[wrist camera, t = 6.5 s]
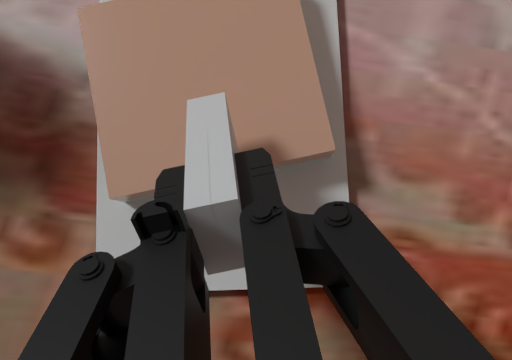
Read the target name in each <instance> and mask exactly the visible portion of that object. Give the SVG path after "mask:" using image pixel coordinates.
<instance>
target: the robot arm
mask: <svg viewBox="0 0 512 360" xmlns="http://www.w3.org/2000/svg"><path fill="white" fill-rule="evenodd" d="M130 220H131V222H132V224H133V226H134V228H135V230H136V232H137V235H138V237H139V239H140V245H139V246H138V247H136V248H135V249H133V250H131V251H130V252H128V253H125V254H123V255H121V256H119V257H117V258H115V259H114V257H113V256H112V255H111V254H109V253H108V252H101V251H100V252H94V253H91V254H88V255H86V256H84V257H82V258H81V259H80V260H78V261H77V262H76V263H75V264H74V265H73V266H72V267H71V269H70V270H69V271H68V273H67V275H66V277H65V278H64V280H63V282H62V284H61V285H60V287H59V289H58V291H57V292H56V294H55V296H54V298H53V299H52V301H51V303H50V304H49V306H48V308H47V310H46V311H45V313H44V315H43V317H42V318H41V320H40V322H39V324H38V325H37V327H36V329H35V331H34V332H33V334H32V336H31V338H30V339H29V341H28V343H27V345H26V346H25V348H24V350H23V352H22V353H21V355H20V357H19V359H18V360H211V346H210V316H209V289H208V286H207V283H206V280H205V278H204V266H205V269H206V272H207V274H208V275H211V274H216V273H221V272H225V271H230V270H235V269H240V268H245V272H246V281H247V290H248V298H249V307H250V315H251V324H252V332H253V341H254V350H255V358H256V360H322V356H321V352H320V348H319V344H318V340H317V336H316V332H315V328H314V323H313V319H312V315H311V311H310V307H309V303H308V299H307V295H306V291H305V287H304V284H314V285H322V286H323V289H324V290H325V292H326V294H327V295H328V297H329V298H330V300H331V301H332V303H333V305H334V306H335V308H336V309H337V311H338V313H339V314H340V316H341V317H342V319H343V320H344V322H345V324H346V325H347V327H348V328H349V330H350V332H351V333H352V335H353V336H354V338H355V340H356V341H357V343H358V344H359V346H360V347H361V349H362V351H363V352H364V354H365V355H366V357H367V359H368V360H495V359H494V358H493V357H492V356H491V355H490V353H489V352H488V351H487V350H486V349H485V348H484V347H483V346H482V345H481V343H480V342H479V341H478V340H477V339H476V338H475V337H474V336H473V335H472V333H471V332H470V331H469V330H468V329H467V328H466V327H465V326H464V324H463V323H462V322H461V321H460V320H459V319H458V318H457V317H456V316H455V314H454V313H453V312H452V311H451V310H450V309H449V308H448V307H447V306H446V304H445V303H444V302H443V301H442V300H441V299H440V298H439V297H438V296H437V294H436V293H435V292H434V291H433V290H432V289H431V288H430V287H429V285H428V284H427V283H426V282H425V281H424V280H423V279H422V278H421V277H420V275H419V274H418V273H417V272H416V271H415V270H414V269H413V268H412V267H411V265H410V264H409V263H408V262H407V261H406V260H405V259H404V258H403V256H402V255H401V254H400V253H399V252H398V251H397V250H396V249H395V248H394V246H393V245H392V244H391V243H390V242H389V241H388V240H387V239H386V238H385V236H384V235H383V234H382V233H381V232H380V231H379V230H378V229H377V228H376V226H375V225H374V224H373V223H372V222H371V221H370V220H369V219H368V217H367V216H366V215H365V214H364V213H363V212H362V211H361V210H360V209H359V208H358V207H357V206H355V205H354V204H352V203H348V202H345V201H334V202H329V203H326V204H324V205H322V206H321V207H319V208H318V209H317V211H316V212H315V213H314V214H301V213H296V212H293V211H291V210H290V209H288V208H287V207H286V206H285V205H284V204H283V202H282V199H281V195H280V191H279V187H278V183H277V179H276V175H275V171H274V167H273V163H272V159H271V155H270V154H269V153H268V152H267V151H266V150H265V149H264V148H258V149H253V150H248V151H244V152H239V150H238V145H237V141H236V137H235V133H234V129H233V125H232V121H231V116H230V112H229V108H228V104H227V100H226V96H225V92H223V93H218V94H213V95H209V96H204V97H199V98H194V99H190V100H187V116H186V147H185V165H182V166H177V167H172V168H168V169H163V170H162V172H161V173H160V175H159V176H158V178H157V179H156V184H155V192H154V200H152V201H150V202H147V203H145V204H143V205H142V206H140V207H139V208H138V209H137V210H136V211H135V212H134V213H133V215H132V217H131V219H130Z"/></svg>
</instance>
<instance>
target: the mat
mask: <svg viewBox="0 0 512 360" xmlns="http://www.w3.org/2000/svg"><path fill="white" fill-rule="evenodd" d="M107 1H112V0H99V3H103V2H107ZM300 4H301V8H302V12H303V16H304V20H305V24H306V29H307V33H308V37H309V41H310V45H311V49H312V53H313V58H314V62H315V66H316V70H317V74H318V78H319V82H320V87H321V91H322V95H323V99H324V103H325V107H326V111H327V116H328V120H329V124H330V128H331V132H332V136H333V140H334V145H335V149H336V150H335V152H334V153H333V154H332V156H331V157H330V158H328V159H323V160H319V161H314V162H309V163H305V164H300V165H296V166H291V167H286V168H282V169H277V170H274V171H275V175H276V179H277V183H278V187H279V191H280V195H281V199H282V202H283V204H284V205H285V206H286V207H287V208H288V209H290V210H291V211H293V212H296V213H301V214H314V213H315V212H316V211H317V209H318V208H319V207H321V206H322V205H324V204H326V203H329V202H334V201H345V202H348V203H349V193H348V176H347V160H346V144H345V128H344V112H343V96H342V80H341V63H340V47H339V31H338V15H337V0H300ZM152 200H154V196H152V197H148V198H143V199H139V200H134V201H129V202H121V201H116V200H112V199H109V195H108V189H107V183H106V177H105V171H104V165H103V159H102V153H101V147H100V141H99V135H98V133H97V215H96V252H100V251H101V252H108V253H109V254H111V255H112V256H113V257H114V259H115V258H117V257H119V256H121V255H123V254H125V253H128V252H130V251H131V250H133V249H135V248H136V247H138V246H139V245H140V239H139V237H138V235H137V232H136V230H135V228H134V226H133V224H132V222H131V220H130V219H131V217H132V215H133V213H134V212H135V211H136V210H137V209H138V208H139V207H140V206H142V205H143V204H145V203H147V202H150V201H152ZM204 278H205V280H206V283H207V286H208V289H209V291H214V290H247V281H246V272H245V268H240V269H235V270H230V271H225V272H221V273H216V274H211V275H208V274H207V272H206V269H205V266H204ZM304 287H305V288H314V287H323V286H322V285H314V284H304Z"/></svg>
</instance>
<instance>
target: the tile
mask: <svg viewBox="0 0 512 360" xmlns="http://www.w3.org/2000/svg"><path fill="white" fill-rule="evenodd" d="M77 9H78V15H79V21H80V27H81V33H82V39H83V45H84V51H85V57H86V63H87V69H88V75H89V81H90V87H91V93H92V99H93V105H94V111H95V117H96V123H97V129H98V135H99V141H100V147H101V153H102V159H103V165H104V171H105V177H106V183H107V189H108V195H109V199H112V200H116V201H121V202H129V201H134V200H139V199H143V198H148V197H152V196H154V192H155V184H156V179H157V178H158V176H159V175H160V173H161V172H162V170H163V169H168V168H172V167H177V166H182V165H185V147H186V116H187V100H190V99H194V98H199V97H204V96H209V95H213V94H218V93H223V92H225V96H226V100H227V104H228V108H229V112H230V116H231V121H232V125H233V129H234V133H235V137H236V141H237V145H238V150H239V152H244V151H248V150H253V149H258V148H264V149H265V150H266V151H267V152H268V153H269V154H270V155H271V159H272V163H273V167H274V170H277V169H282V168H286V167H291V166H296V165H300V164H305V163H309V162H314V161H319V160H323V159H328V158H330V157H331V156H332V154H333V153H334V152H335V150H336V149H335V145H334V140H333V136H332V132H331V128H330V124H329V120H328V116H327V111H326V107H325V103H324V99H323V95H322V91H321V87H320V82H319V78H318V74H317V70H316V66H315V62H314V58H313V53H312V49H311V45H310V41H309V37H308V33H307V29H306V24H305V20H304V16H303V12H302V8H301V4H300V0H112V1H107V2H103V3H98V4H94V5H90V6H85V7H81V8H77Z"/></svg>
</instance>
